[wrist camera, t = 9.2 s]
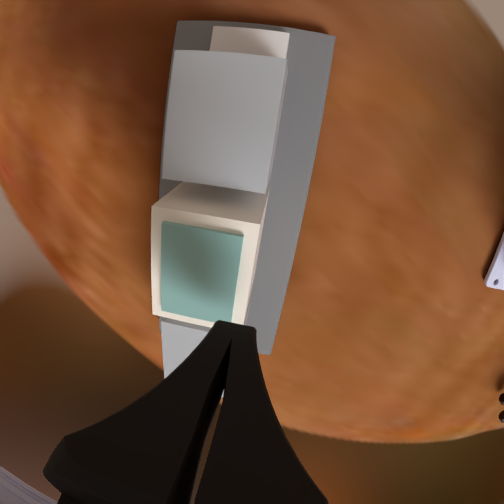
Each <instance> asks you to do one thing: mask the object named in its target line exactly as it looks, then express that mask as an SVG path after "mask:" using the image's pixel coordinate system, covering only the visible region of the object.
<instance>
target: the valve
mask: <svg viewBox="0 0 504 504" xmlns="http://www.w3.org/2000/svg"><path fill="white" fill-rule="evenodd" d="M499 401H500V403H501V405H504V393H503V394H501V395H500V397H499ZM499 420H500V421H501V422H502V423H504V411H502V412H500V414H499Z"/></svg>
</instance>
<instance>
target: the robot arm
mask: <svg viewBox="0 0 504 504" xmlns="http://www.w3.org/2000/svg"><path fill="white" fill-rule="evenodd" d="M495 280H496V281H495ZM494 281H495V282H494ZM484 283H485V284H486V286H488V287H491V288H496V289H501V290H504V233H503V236H502V238H501V241H500V243H499V246H498V249H497V251H496V254H495V256H494V258H493V261H492V263H491V265H490V268H489V270H488V272H487V275H486V277H485V280H484ZM256 334H257V330H256V329H255V327H252V326H247V325H242V324H237V323H232V322H227V321H222V320H218V321H216V322H215V323H214V325H213V326H212V328H211V329H210V331H209V332H208V333H207V335H206V336H205V337H204V339H203V340H202V341H201V342H200V343H199V345H198V346H197V347H196V348H195V349H194V350H193V351H192V352H191V353H190V355H189V356H188V357H187V358H186V359H185V360H184V361H183V362H182V363H181V364H180V365H179V366H178V367H177V368H176V369H175V370H174V371H173V372H171V373H170V374H169V375H168V376H167V377H166V378H165V379H164V380H162V381H161V382H160V383H159V384H158V385H157V386H155V387H154V388H153V389H151V390H150V391H149V392H147V393H146V394H144V395H143V396H142V397H140V398H139V399H137V400H136V401H134V402H133V403H131V404H130V405H128V406H127V407H125V408H123V409H122V410H120V411H118V412H116V413H114V414H112V415H111V416H109V417H107V418H105V419H103V420H101V421H99V422H97V423H95V424H93V425H91V426H88V427H86V428H84V429H81V430H79V431H76V432H74V433H71V434H69V435H66V436H64V438H63V439H62V440H61V442H60V443H59V444H58V445H57V447H56V448H55V449H54V451H53V452H52V454H51V456H50V458H49V460H48V462H47V464H46V466H45V467H44V469H43V473H44V476H45V478H46V479H47V480H48V481H49V482H50V483H51V484H52V485H53V486H54V487H56V488H57V489H58V490H59V491H60V492H61V493H62V494H61V496H60V499H59V501H58V502H56V501H55V500H53V499H51V498H49V497H48V496H46V495H44V494H42V493H41V492H39V491H37V490H35V489H34V488H32V487H31V486H29V485H27V484H26V483H24V482H23V481H21V480H20V479H18V478H17V477H15V476H14V475H13V474H11V473H9V472H8V471H7V470H5V469H4V468H2V467H1V466H0V504H190V502H191V498H192V493H193V489H194V485H195V481H196V477H197V473H198V468H199V464H200V460H201V456H202V452H203V448H204V445H205V442H206V438H207V436H208V433H209V430H210V427H211V425H212V422H213V419H214V416H215V413H216V410H217V408H218V405H219V402H220V399H221V397H222V394H223V391H224V395H223V402H222V406H221V410H220V414H219V417H218V421H217V425H216V428H215V432H214V436H213V440H212V444H211V447H210V450H209V454H208V457H207V461H206V464H205V468H204V471H203V474H202V478H201V481H200V484H199V488H198V491H197V495H196V498H195V504H328V501H327V498H326V497H325V496H324V495H323V493H322V492H321V491H320V490H319V488H318V487H317V486H316V484H315V483H314V481H313V480H312V479H311V477H310V476H309V475H308V473H307V472H306V470H305V469H304V467H303V465H302V464H301V462H300V461H299V459H298V457H297V456H296V454H295V452H294V450H293V449H292V447H291V446H290V443H289V441H288V440H287V438H286V436H285V434H284V432H283V430H282V427H281V425H280V423H279V421H278V419H277V416H276V414H275V411H274V409H273V406H272V404H271V401H270V398H269V395H268V392H267V389H266V385H265V382H264V378H263V374H262V370H261V366H260V361H259V356H258V349H257V335H256Z"/></svg>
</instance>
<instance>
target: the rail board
mask: <svg viewBox="0 0 504 504" xmlns="http://www.w3.org/2000/svg"><path fill="white" fill-rule="evenodd" d="M334 43H335V36H332V35H327V34H322V33H317V32H312V31H307V30H301V29H295V28H288V27H281V26H273V25H265V24H255V23H244V22H229V21H177V27H176V33H175V39H174V45H173V52H172V58H171V65H170V73H169V80H168V88H167V97H166V106H165V116H164V127H163V138H162V151H161V166H160V185H159V200H160V199H161V198H162V197H164V196H165V195H166V194H168V193H169V192H170V191H171V190H173V189H174V188H175V187H177V186H178V185H179V184H181V183H182V182H183V181H184V182H191V183H199V184H205V185H212V186H219V187H226V188H232V189H238V190H244V191H251V192H256V193H262V194H266V190H267V188H270V189H269V195H268V201H267V206H266V212H265V218H264V224H263V230H262V235H261V241H260V247H259V253H258V258H257V264H256V270H255V275H254V280H253V285H252V289H251V294H250V298H249V303H248V307H247V312H246V317H245V321H244V325H247V326H252V327H255V329H256V330H257V334H256V335H257V349H258V353H260V354H266V355H270V354H271V350H272V347H273V343H274V339H275V335H276V331H277V327H278V323H279V319H280V315H281V311H282V306H283V302H284V298H285V294H286V290H287V286H288V281H289V277H290V273H291V268H292V264H293V260H294V255H295V251H296V246H297V242H298V237H299V233H300V228H301V223H302V219H303V214H304V209H305V204H306V200H307V195H308V190H309V185H310V180H311V175H312V170H313V165H314V160H315V154H316V149H317V144H318V138H319V133H320V128H321V122H322V116H323V111H324V105H325V99H326V93H327V87H328V81H329V75H330V69H331V63H332V56H333V49H334ZM159 323H160V333H162V350H163V364H164V377H165V378H166V377H167V376H168V375H169V374H170V373H171V372H173V371H174V370H175V369H176V368H177V367H178V366H179V365H180V364H181V363H182V362H183V361H184V360H185V359H186V358H187V357H188V356H189V355H190V353H191V352H192V351H193V350H194V349H195V348H196V347H197V346H198V345H199V343H200V342H201V341H202V340H203V339H204V337H205V336H206V335H207V333H208V332H209V331H210V329H211V328H210V327H206V326H201V325H196V324H192V323H187V322H183V321H179V320H174V319H170V318H166V317H162V316H159ZM223 395H224V391H223V394H222V397H223Z"/></svg>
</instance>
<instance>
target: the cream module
mask: <svg viewBox="0 0 504 504" xmlns="http://www.w3.org/2000/svg"><path fill="white" fill-rule="evenodd" d="M269 189H270V188H267V190H266V194H262V193H256V192H251V191H244V190H238V189H232V188H226V187H219V186H212V185H205V184H199V183H191V182H184V181H183V182H182V183H181V184H179V185H178V186H177V187H175V188H174V189H173V190H171V191H170V192H169V193H168V194H166V195H165V196H164V197H162V198H161V199H160V200H159V201H157V202H156V203H155V204H154V205H152V210H151V283H152V310H153V314H154V315H158V316H162V317H166V318H170V319H174V320H179V321H183V322H187V323H192V324H196V325H201V326H206V327H210V328H212V326H213V325H214V323H215V322H216V321H218V320H222V321H227V322H232V323H237V324H242V325H244V321H245V317H246V312H247V307H248V303H249V298H250V294H251V289H252V285H253V280H254V275H255V270H256V264H257V258H258V253H259V247H260V241H261V235H262V230H263V224H264V218H265V212H266V206H267V201H268V195H269Z"/></svg>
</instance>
